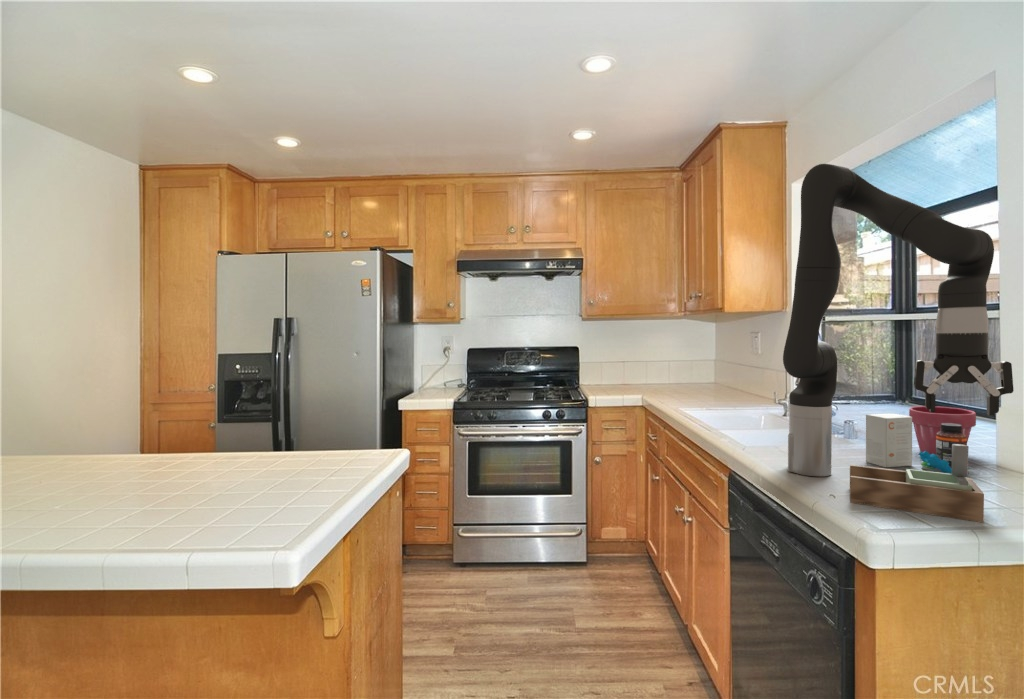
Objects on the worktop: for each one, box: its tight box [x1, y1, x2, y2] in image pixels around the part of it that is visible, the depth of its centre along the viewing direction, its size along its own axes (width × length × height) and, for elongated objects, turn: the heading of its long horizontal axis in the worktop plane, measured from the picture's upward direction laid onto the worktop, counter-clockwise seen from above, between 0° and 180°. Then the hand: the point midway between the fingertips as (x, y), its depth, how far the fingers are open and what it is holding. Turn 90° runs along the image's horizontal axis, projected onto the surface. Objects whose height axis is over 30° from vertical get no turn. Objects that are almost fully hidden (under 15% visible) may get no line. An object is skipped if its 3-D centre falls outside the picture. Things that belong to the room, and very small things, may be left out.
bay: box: [849, 464, 985, 523], centre depth 101 cm, size 20×11×5 cm, turn 56°
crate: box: [905, 444, 972, 491], centre depth 99 cm, size 9×8×12 cm
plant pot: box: [908, 405, 977, 455], centre depth 139 cm, size 14×14×13 cm
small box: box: [865, 413, 913, 469], centre depth 131 cm, size 8×6×13 cm
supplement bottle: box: [936, 423, 968, 468], centre depth 126 cm, size 6×6×11 cm
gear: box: [918, 451, 967, 478], centre depth 114 cm, size 11×6×10 cm
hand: (960, 413), depth 97 cm, fingers open, 8 cm apart
